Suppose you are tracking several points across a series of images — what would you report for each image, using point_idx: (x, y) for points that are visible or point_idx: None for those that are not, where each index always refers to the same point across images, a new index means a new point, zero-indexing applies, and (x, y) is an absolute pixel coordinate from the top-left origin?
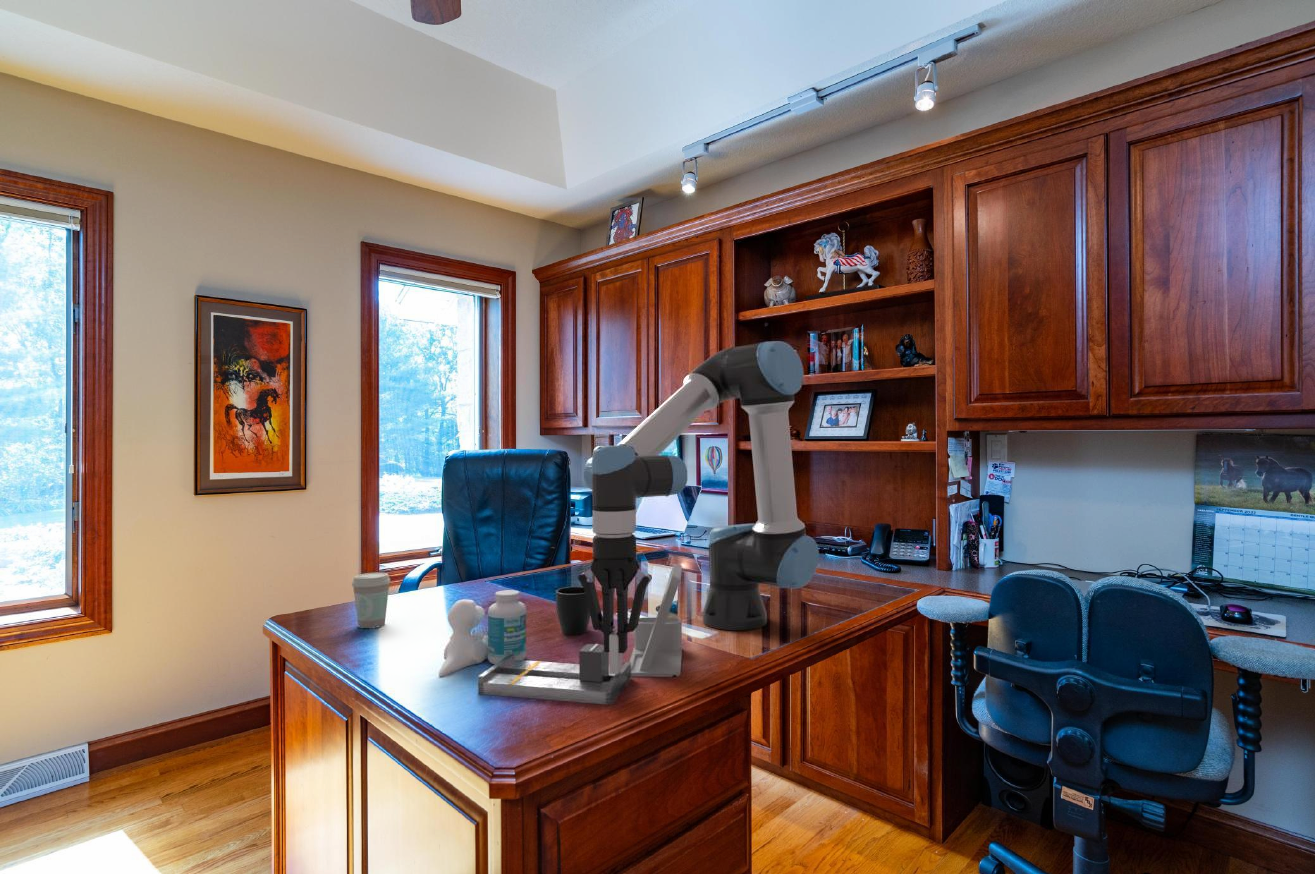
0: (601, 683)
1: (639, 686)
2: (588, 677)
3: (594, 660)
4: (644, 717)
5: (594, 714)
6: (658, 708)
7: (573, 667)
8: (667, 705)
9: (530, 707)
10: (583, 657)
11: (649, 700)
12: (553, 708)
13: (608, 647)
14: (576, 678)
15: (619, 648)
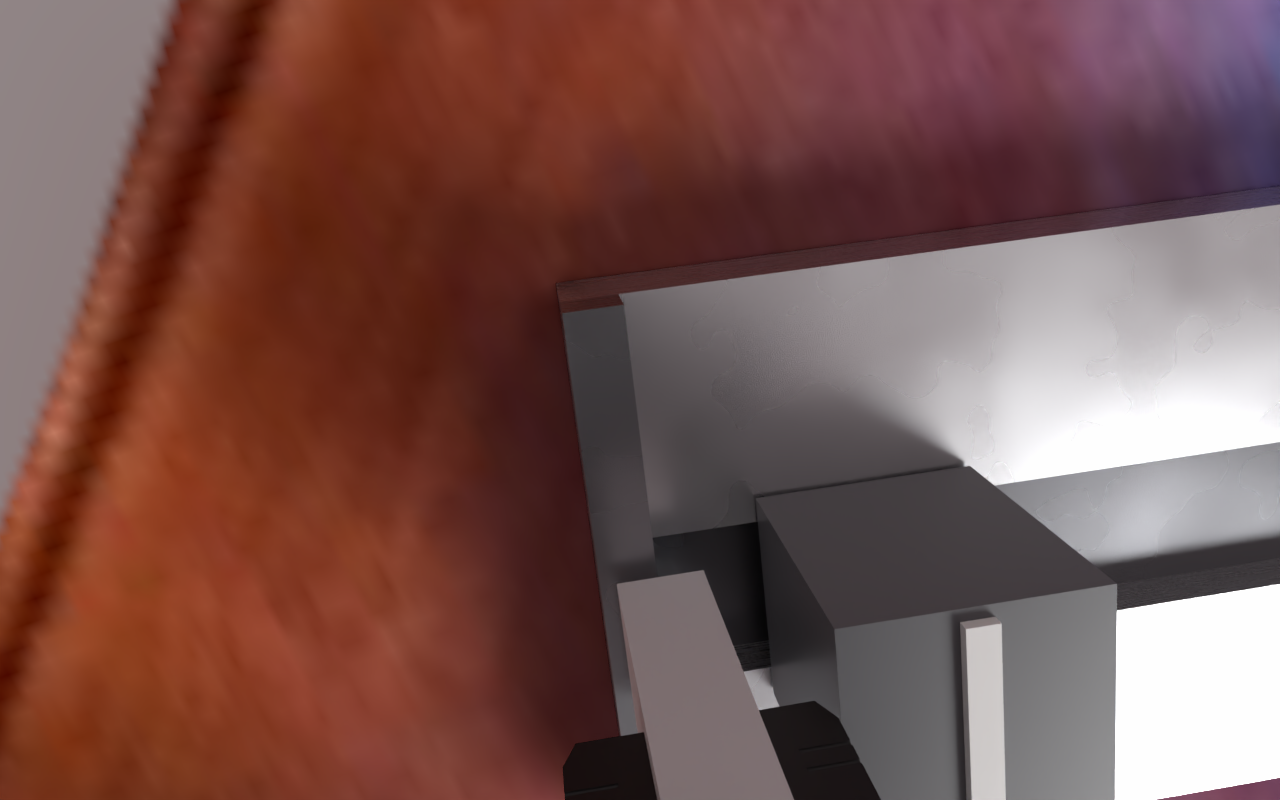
0: (746, 474)
1: (501, 713)
2: (893, 489)
3: (888, 571)
4: (155, 131)
5: (610, 46)
6: (130, 353)
7: (1140, 722)
8: (86, 437)
9: (1205, 4)
10: (1027, 558)
11: (286, 482)
12: (1007, 50)
13: (785, 740)
14: None
15: (640, 765)
